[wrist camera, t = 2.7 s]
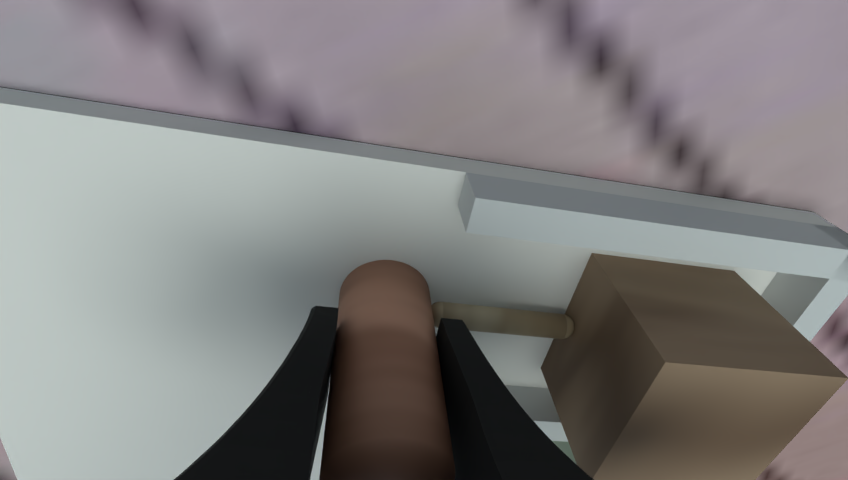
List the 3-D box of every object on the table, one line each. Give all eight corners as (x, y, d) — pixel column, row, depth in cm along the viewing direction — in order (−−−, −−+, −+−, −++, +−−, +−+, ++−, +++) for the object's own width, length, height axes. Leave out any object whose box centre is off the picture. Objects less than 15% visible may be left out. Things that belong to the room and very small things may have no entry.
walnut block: (665, 378, 18) (775, 548, 13) (332, 351, 16) (310, 541, 11) (733, 270, 16) (904, 430, 11) (348, 222, 14) (330, 393, 8)
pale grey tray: (612, 503, 25) (634, 556, 22) (43, 485, 20) (4, 548, 18) (814, 212, 16) (880, 254, 14) (-107, 70, 12) (-216, 101, 9)
